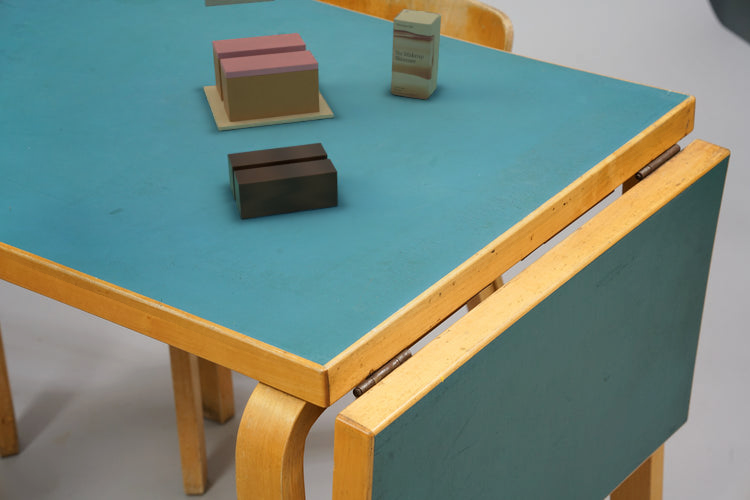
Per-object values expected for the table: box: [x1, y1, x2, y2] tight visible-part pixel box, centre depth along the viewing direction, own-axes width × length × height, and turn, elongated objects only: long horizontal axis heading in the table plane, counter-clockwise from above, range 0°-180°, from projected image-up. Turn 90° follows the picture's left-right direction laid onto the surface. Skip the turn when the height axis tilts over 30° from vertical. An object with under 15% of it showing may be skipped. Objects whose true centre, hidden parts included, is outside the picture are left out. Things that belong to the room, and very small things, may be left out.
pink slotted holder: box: [203, 32, 335, 132], centre depth 121 cm, size 14×13×7 cm
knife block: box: [227, 142, 339, 220], centre depth 101 cm, size 10×7×4 cm
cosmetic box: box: [390, 8, 442, 101], centre depth 124 cm, size 5×4×10 cm
